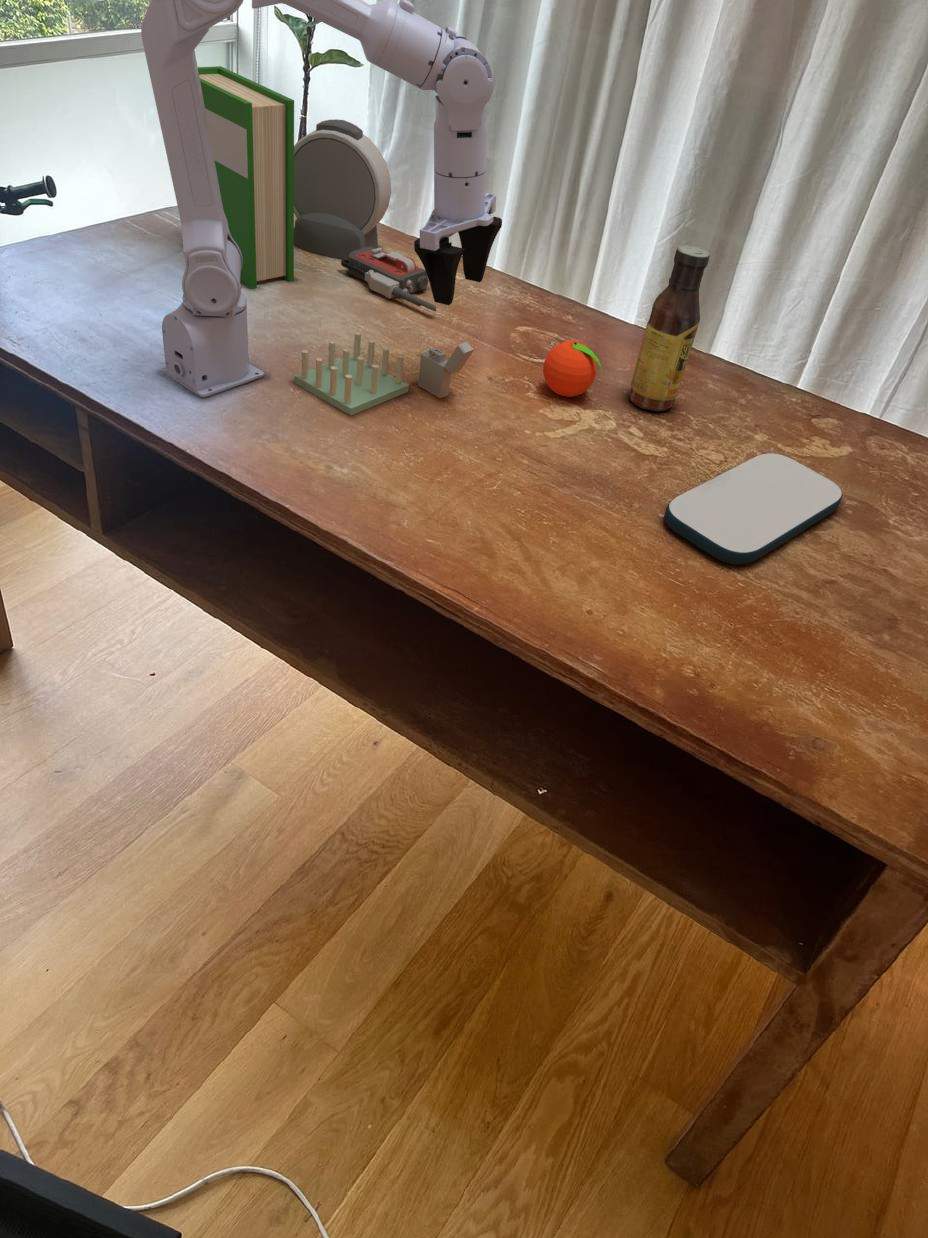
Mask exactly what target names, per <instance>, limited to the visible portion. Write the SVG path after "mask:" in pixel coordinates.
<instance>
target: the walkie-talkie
mask: <svg viewBox="0 0 928 1238" xmlns="http://www.w3.org/2000/svg"><path fill="white" fill-rule="evenodd" d="M340 265H341V266H342V267H343V268H346V269H347V271H348V274H349V275H350V276H353V277H355V278H357V279H359V280H362V281H364V282H366V283H367V285H368V288H369V289H370V290H371V291H373V292H376V293H378V294H380V295H382V296H384V297H385V298H387V299H389V300H390V299H393V298H398V299H402V300H405V301H407V302H408V303H411V304H413V305H415V306H417V307H424V308H426V309H428V310H431V311H433V312H436V311H437V306H436V305H435V304H433V303H430V302H428V301H426V300H424V299H422V298H420V297H418V296H415V295H413V294H414V293H416V292H419V291H424V290H425V289H426V288H428V285H429V279H428V276H427V273H426V270H425V268H423V267H420V266H417V263H416V262H415V261H414V259H413V258H411V257H408V256H405V255H404V254H402V253H400V252H397V251H392V252H388V253H387V252H386V251H383V248H382V247H378V248H377V249H376V248H373V247H371V246H369V247H366V248H362V249H359V250H355V251H352V252H350V254H349V259H340Z"/></svg>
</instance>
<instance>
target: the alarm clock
mask: <svg viewBox="0 0 928 1238" xmlns="http://www.w3.org/2000/svg"><path fill="white" fill-rule="evenodd" d="M391 196H392V181H391V174H390V171H389V167H388V164H387V161H386V159H385V157H384V155H383V154H382V151H381V150H380V149H379V148H378V147H377V145H376V144H375V143H374V142H373V140H371V138H370V137H368V136H367V135H365V134H364V131H363V129H361V128H360V127H358V126H357V125H356V124H355V123H352V122H350V121H347V120H344V119H326V120H321V121H320V122H318V123H317V124H316V125H315V130H313V131H311V132H310V133H308V134H306V135H305V136H303V137H302V138H300V139H298V141H296V143H294V217H295V218H296V219H294V247H298V249H299V248H300V249H302V250H305V251H308V252H311V253H314V254H317V255H320V256H323V257H324V256H325V257H330V258H334V259H340V260H342V259H349V254H350V252H352V251H355V250H359V249H362V248H366V247H369V246H371V247H373V248H376V249H377V248H379V239H378V224H379V223H380V222H381V221H382V220H383V218H384V216H385V214H386V212H387V210H388V208H389V206H390V201H391Z"/></svg>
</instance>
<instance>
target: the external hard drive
mask: <svg viewBox="0 0 928 1238" xmlns="http://www.w3.org/2000/svg"><path fill="white" fill-rule="evenodd" d="M842 498H843V490H842V489H841V487H840V486H839V485H838V484H836V482H834V481H832V480H831V479H829V478H828V477H826V476H824V475H822V474H820V473H819V472H817V471H815V470H814V469H811V467H808V466H806V465H804V464H803V463H801V462H799V461H797V460H795V459H794V458H791V457H790V456H786V455H784V454H780V453H774V452H767V453H761V454H757V455H755V456H752V457H751V458H749V459H747V460H746V461H743V462H741V463H740V464H738V465H735V466H733V467H731V468H730V469H728V470H726V471H723V472H721V473H720V474H718V475H715V476H714V477H711V478H709V479H708V480H705V481H704V482H702V483H700V484H698V485H696V486H694V487H691V488H690V489H688V490H686V491H684V492H682V493H680V494H678V495H677V496H674V498H672V499H671V500H670V501H669V502H668V504H667V505H666V508H665V510H664V518H663V519H664V522H665V523H666V526H667V527H669V528H670V529H671V530H672V531H673V532H675V534H677V535H679V536H681V537H682V538H683V539H685V540H687V541H688V542H690V543H691V544H692V545H694V546H696V547H697V548H699V549H700V550H702V551H703V552H705V553H706V554H708V555H710V556H711V557H713V558H715V559H717V560H718V561H721V562H723V563H726V564H730V565H735V566H736V565H738V566H739V565H747V564H750V563H753V562H755V561H757V560H759V559H760V558H762V557H764V556H765V555H766V554H768V553H769V552H772V551H774V550H775V549H777V548H778V547H779V546H781V545H783V544H785V543H786V542H787V541H789V540H791V539H792V538H794V537H795V536H797V535H799V534H800V533H802V532H803V531H805V530H806V529H808V528H810V527H811V526H812V525H815V524H816V523H818V522H819V521H821V520H823V519H824V518H826V517H827V516H829V515H831V514H832V513H833V512H835V511H836V510H837V508H838V507H839V505H840V504H841V501H842Z"/></svg>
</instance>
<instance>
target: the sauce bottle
mask: <svg viewBox="0 0 928 1238" xmlns="http://www.w3.org/2000/svg"><path fill="white" fill-rule="evenodd" d="M710 257H711V253H710V252H709V251H707V250H706V249H704V248H701V247H699V246H694V245H687V244H686V245H679V246H677V248H676V250H675V253H674V257H673V267H672V271H671V274H670V277H669V278H668V285H667V286H666V287H665V288H664V289H663V290H662V291H661V293H659V294H658V295H657V297H656V298H655V300H654V301H653V303H652V307H651V311H650V315H649V319H648V320H647V323H646V326H645V330H644V334H643V338H642V342H641V345H640V349H639V353H638V356H637V360H636V363H635V367H634V372H633V374H632V379H631V382H630V389H629V392H628V397H629V400H630V401H631V402H632V403H633V404H634V405H635V406H636V407H638V408H640V409H643V410H647V411H652V412H663V411H667V410H669V409H670V408H671V407H673V405H674V402H675V399H676V398H677V396H678V393H679V389H680V387H681V384H682V381H683V377H684V373H685V371H686V367H687V365H688V361H689V357H690V355H691V352H692V348H693V345H694V341H695V338H696V334H697V333H698V328H699V326H700V325H699V324H700V321H701V312H700V311H701V309H700V288H701V282H702V280H703V276H704V273H705V269H706V268H707V266H708V265H709V260H710Z"/></svg>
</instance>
